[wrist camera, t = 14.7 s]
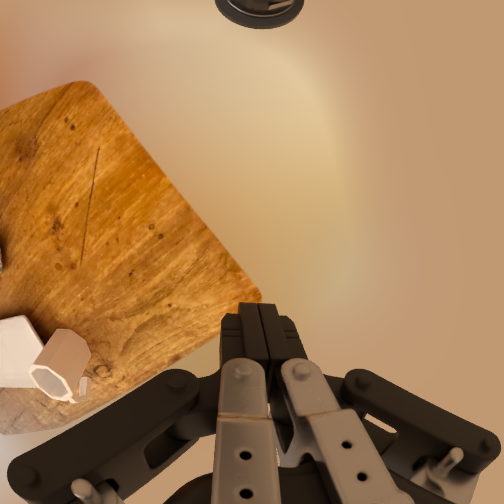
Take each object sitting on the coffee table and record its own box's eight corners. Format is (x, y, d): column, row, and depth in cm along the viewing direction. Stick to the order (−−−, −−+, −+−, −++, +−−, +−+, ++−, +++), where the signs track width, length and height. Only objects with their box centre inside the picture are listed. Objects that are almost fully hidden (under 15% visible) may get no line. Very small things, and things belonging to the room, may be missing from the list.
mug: (44, 333, 39) (20, 367, 30) (73, 322, 39) (48, 359, 30) (81, 380, 44) (66, 416, 35) (112, 373, 43) (97, 413, 34)
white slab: (78, 376, 43) (72, 388, 40) (-1, 379, 43) (-7, 387, 40) (32, 303, 37) (22, 314, 34) (-37, 324, 37) (-44, 331, 34)
